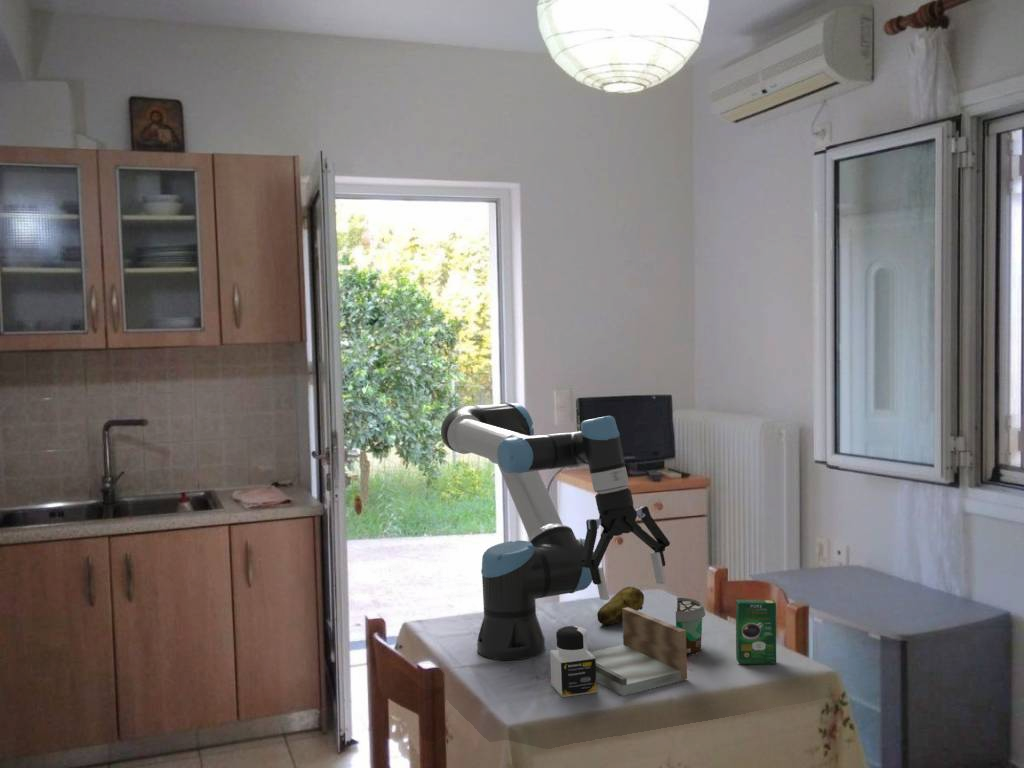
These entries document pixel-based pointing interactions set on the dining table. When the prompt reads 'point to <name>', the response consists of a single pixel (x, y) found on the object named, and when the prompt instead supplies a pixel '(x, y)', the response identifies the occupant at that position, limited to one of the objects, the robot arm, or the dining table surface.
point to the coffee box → (756, 631)
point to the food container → (690, 622)
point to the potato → (620, 605)
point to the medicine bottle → (572, 663)
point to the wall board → (643, 655)
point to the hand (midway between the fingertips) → (633, 591)
